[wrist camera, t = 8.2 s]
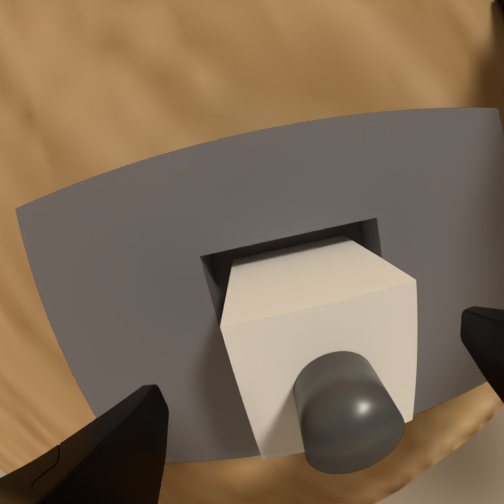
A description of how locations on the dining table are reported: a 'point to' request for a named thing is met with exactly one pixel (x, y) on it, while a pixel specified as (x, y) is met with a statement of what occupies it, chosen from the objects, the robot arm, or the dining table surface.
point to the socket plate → (263, 240)
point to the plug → (323, 351)
